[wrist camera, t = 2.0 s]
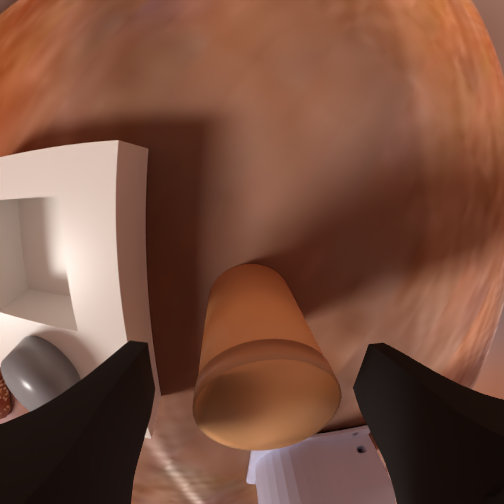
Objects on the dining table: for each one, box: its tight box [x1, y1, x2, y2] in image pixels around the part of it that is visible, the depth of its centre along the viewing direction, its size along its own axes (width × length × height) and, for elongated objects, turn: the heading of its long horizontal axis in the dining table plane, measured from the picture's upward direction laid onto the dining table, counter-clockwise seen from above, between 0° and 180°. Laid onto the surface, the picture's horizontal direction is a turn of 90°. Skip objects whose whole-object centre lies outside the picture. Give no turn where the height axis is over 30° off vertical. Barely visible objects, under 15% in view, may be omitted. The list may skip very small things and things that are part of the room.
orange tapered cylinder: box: [193, 264, 341, 451], centre depth 10 cm, size 4×4×7 cm
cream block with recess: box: [0, 140, 161, 439], centre depth 10 cm, size 10×14×6 cm
